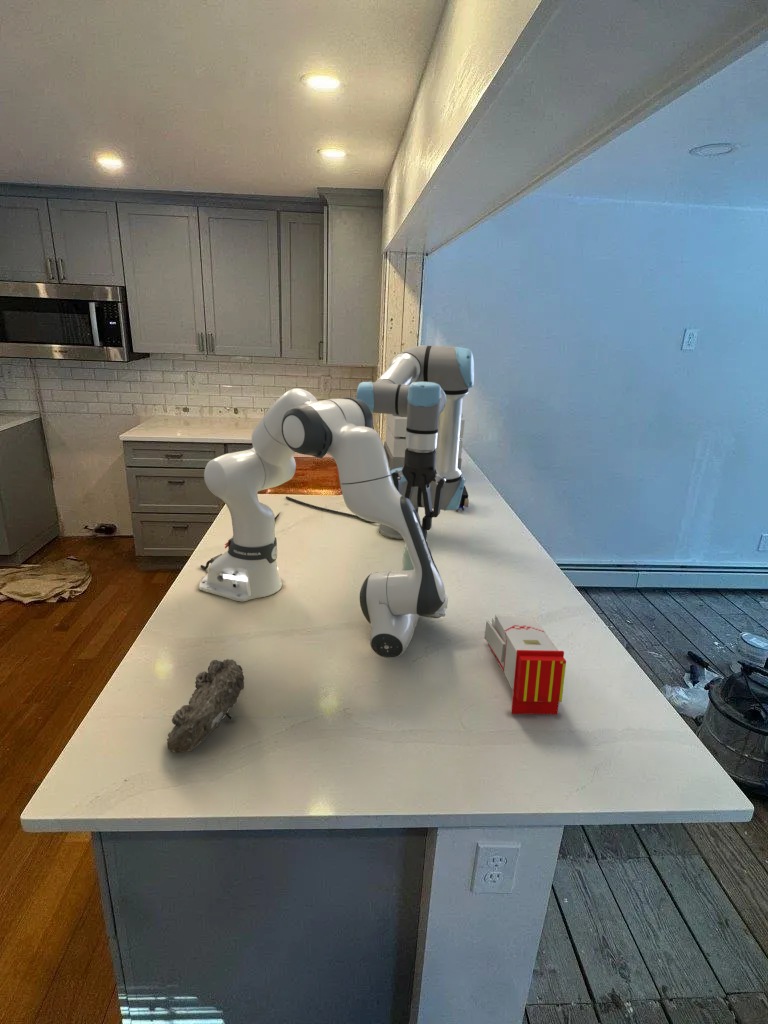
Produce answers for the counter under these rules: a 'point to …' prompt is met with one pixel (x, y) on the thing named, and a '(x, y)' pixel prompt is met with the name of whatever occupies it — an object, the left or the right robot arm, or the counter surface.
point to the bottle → (407, 561)
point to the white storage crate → (398, 437)
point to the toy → (527, 663)
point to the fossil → (206, 705)
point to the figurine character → (464, 499)
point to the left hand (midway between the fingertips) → (412, 585)
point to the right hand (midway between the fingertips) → (414, 539)
